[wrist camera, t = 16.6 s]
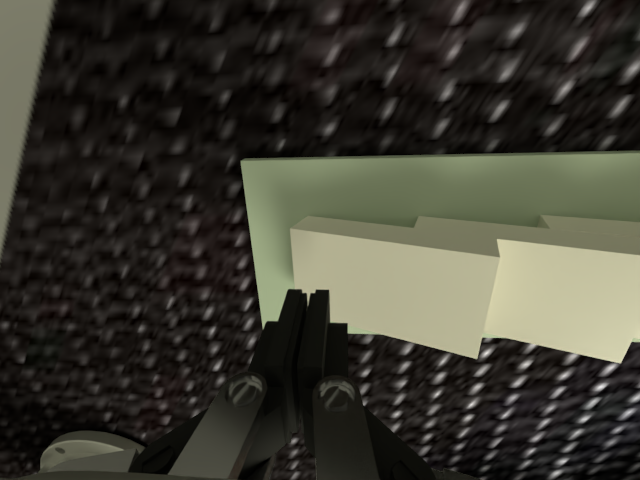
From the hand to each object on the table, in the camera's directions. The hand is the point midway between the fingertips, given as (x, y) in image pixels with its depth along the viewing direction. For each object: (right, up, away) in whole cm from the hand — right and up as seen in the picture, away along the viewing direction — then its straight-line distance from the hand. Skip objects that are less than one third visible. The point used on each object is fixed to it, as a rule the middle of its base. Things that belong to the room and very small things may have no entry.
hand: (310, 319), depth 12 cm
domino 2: (+5, +2, +4) cm, 7 cm away
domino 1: (-1, +2, +4) cm, 5 cm away
